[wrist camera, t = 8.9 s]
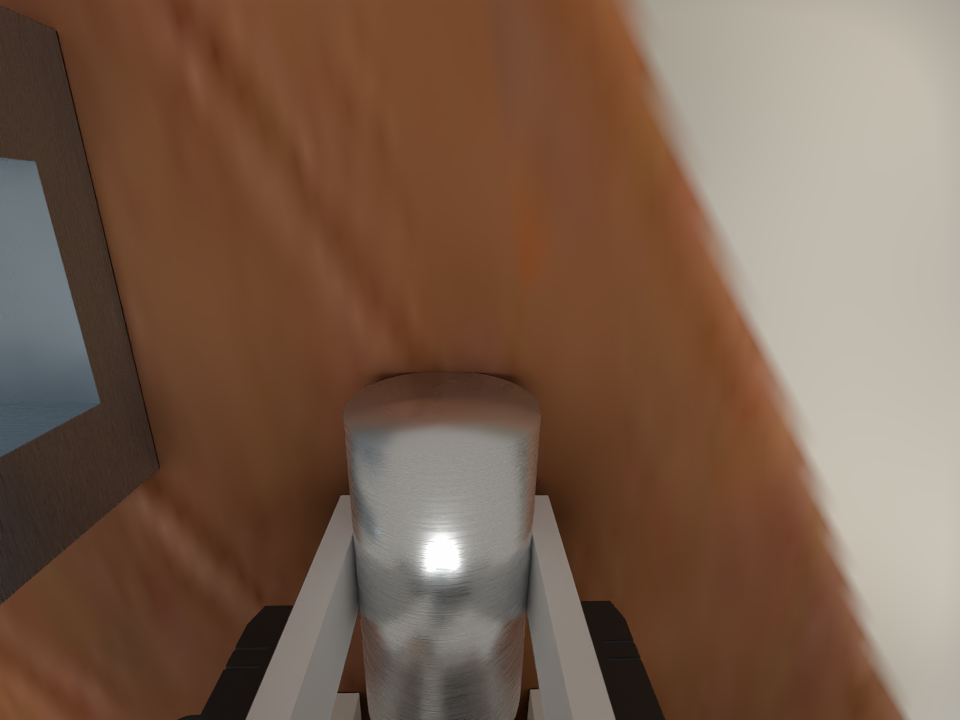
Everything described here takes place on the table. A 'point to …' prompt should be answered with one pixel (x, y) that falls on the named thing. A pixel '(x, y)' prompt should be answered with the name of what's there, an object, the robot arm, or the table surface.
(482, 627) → the axle
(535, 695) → the u shaped block
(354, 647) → the table surface
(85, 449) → the v block
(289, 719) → the robot arm
